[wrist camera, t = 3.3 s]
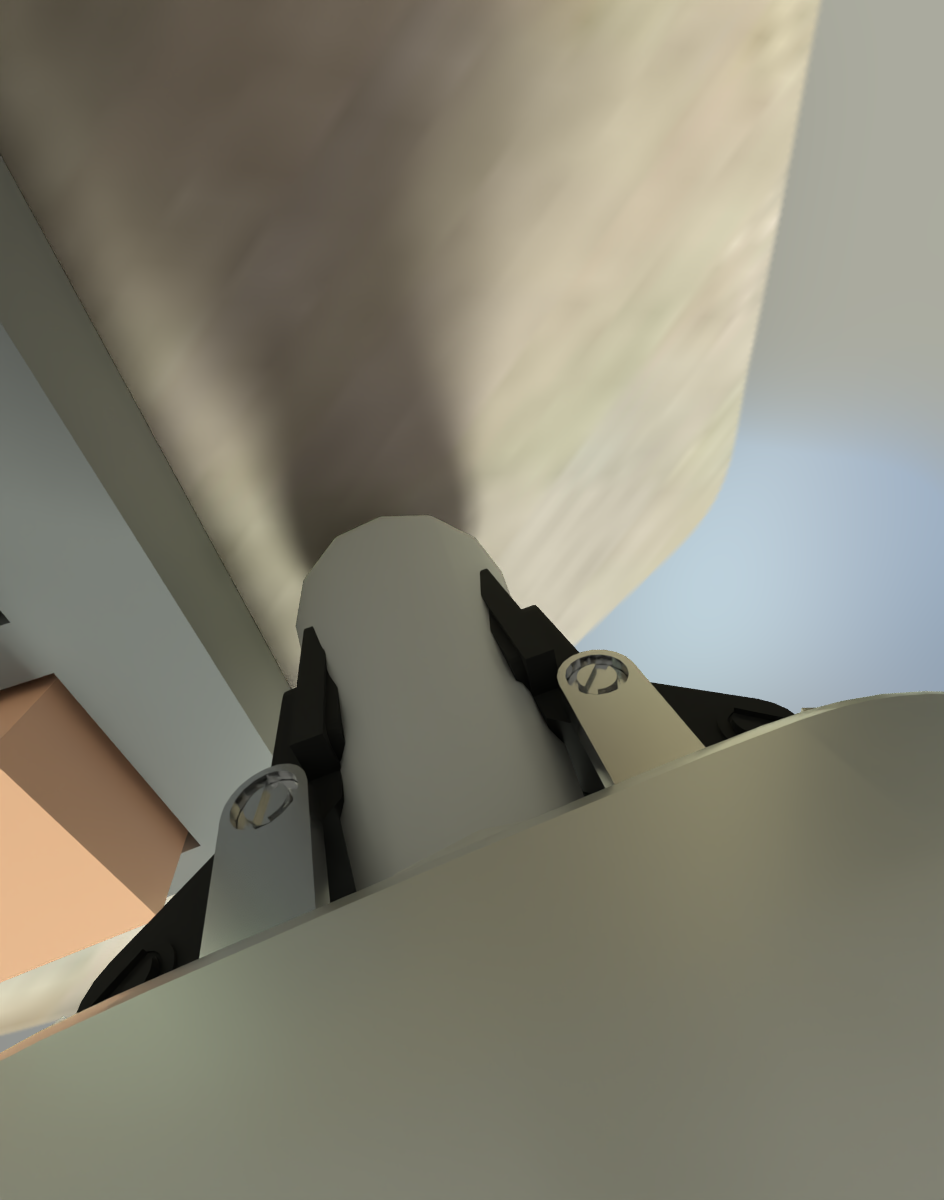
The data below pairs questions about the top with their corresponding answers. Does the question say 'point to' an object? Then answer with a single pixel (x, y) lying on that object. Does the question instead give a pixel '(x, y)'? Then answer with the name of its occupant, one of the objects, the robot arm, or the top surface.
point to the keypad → (116, 559)
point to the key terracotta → (73, 831)
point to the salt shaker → (425, 698)
